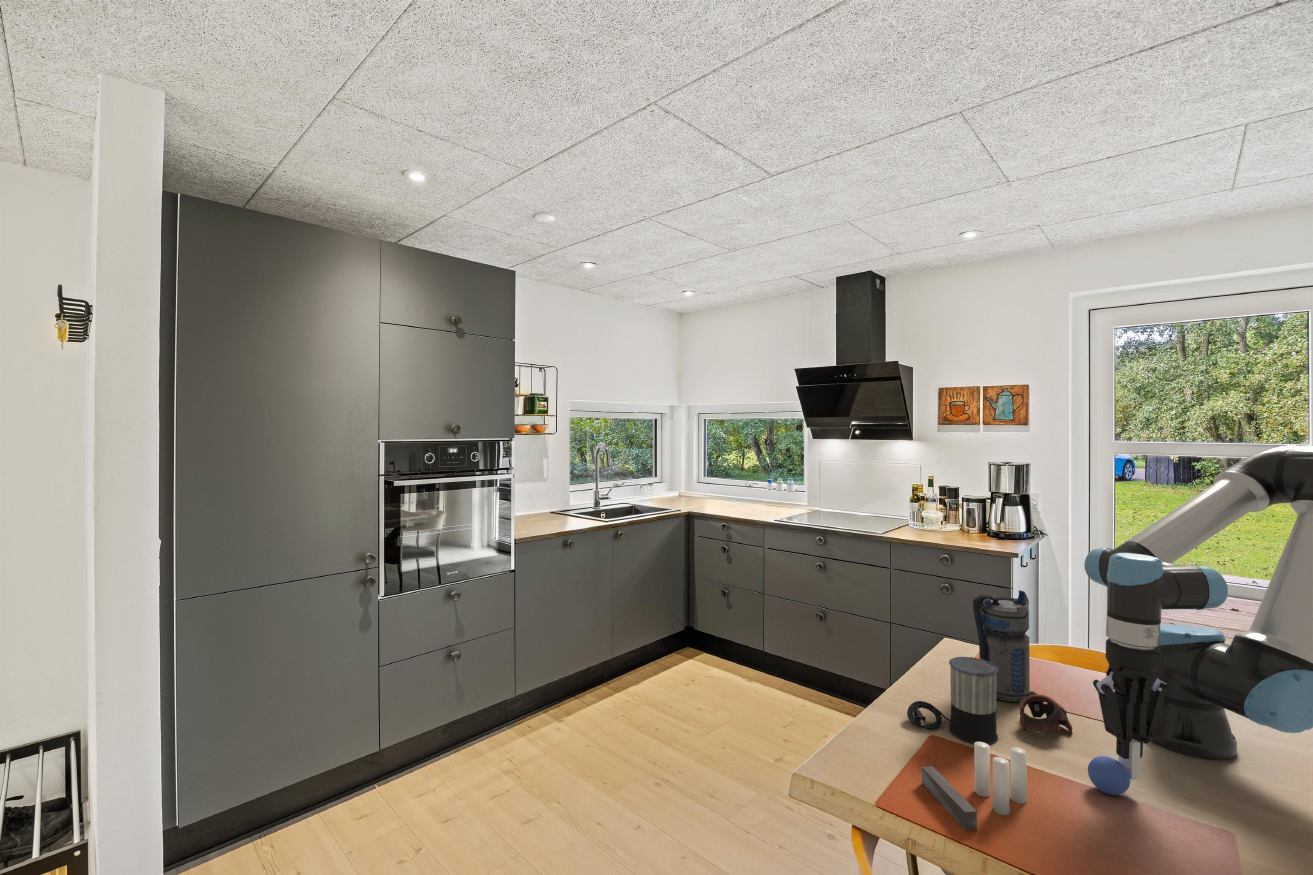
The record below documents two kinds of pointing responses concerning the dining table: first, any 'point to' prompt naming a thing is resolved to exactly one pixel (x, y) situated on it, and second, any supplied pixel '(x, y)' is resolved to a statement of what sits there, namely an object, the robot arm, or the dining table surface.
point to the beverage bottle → (1005, 642)
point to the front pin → (1018, 775)
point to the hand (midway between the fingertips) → (1128, 774)
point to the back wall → (949, 798)
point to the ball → (1108, 775)
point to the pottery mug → (1038, 709)
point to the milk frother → (966, 702)
